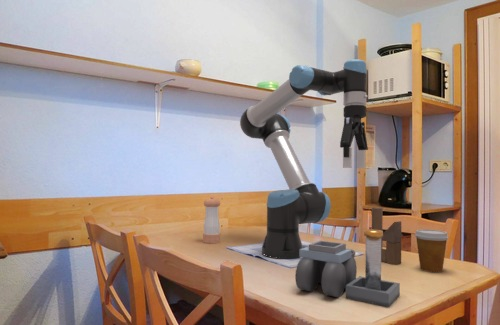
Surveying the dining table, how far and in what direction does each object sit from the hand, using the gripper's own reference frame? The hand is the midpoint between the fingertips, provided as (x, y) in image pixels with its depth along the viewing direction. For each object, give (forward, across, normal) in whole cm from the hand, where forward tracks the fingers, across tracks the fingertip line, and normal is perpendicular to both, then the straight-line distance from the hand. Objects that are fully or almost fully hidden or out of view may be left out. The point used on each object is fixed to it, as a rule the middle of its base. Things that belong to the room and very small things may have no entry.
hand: (354, 168), depth 127 cm
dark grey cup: (+32, -24, -5) cm, 40 cm away
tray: (+32, -32, -16) cm, 48 cm away
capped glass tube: (+31, -32, -16) cm, 47 cm away
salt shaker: (+32, -3, +61) cm, 69 cm away
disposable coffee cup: (+32, +5, -23) cm, 40 cm away
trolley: (+32, -33, -4) cm, 46 cm away
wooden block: (+32, +8, -8) cm, 34 cm away
